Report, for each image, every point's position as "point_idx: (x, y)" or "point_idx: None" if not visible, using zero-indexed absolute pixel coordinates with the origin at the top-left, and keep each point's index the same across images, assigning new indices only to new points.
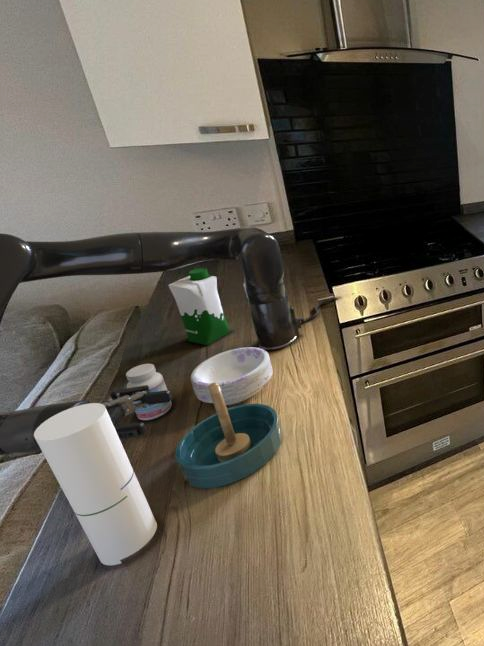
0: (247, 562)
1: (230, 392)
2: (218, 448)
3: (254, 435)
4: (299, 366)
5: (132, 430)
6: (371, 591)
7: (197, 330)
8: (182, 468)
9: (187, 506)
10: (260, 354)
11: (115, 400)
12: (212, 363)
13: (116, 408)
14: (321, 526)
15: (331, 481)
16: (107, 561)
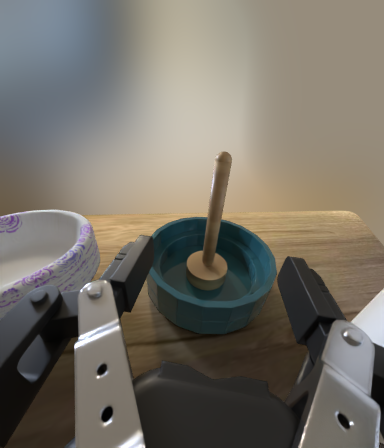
0: (339, 257)
1: (92, 257)
2: (210, 276)
3: (182, 259)
4: None
5: (317, 276)
6: (335, 213)
7: None
8: (263, 298)
9: (287, 316)
10: (21, 219)
11: (93, 407)
12: None
13: (171, 386)
14: (298, 225)
15: (259, 220)
16: None
